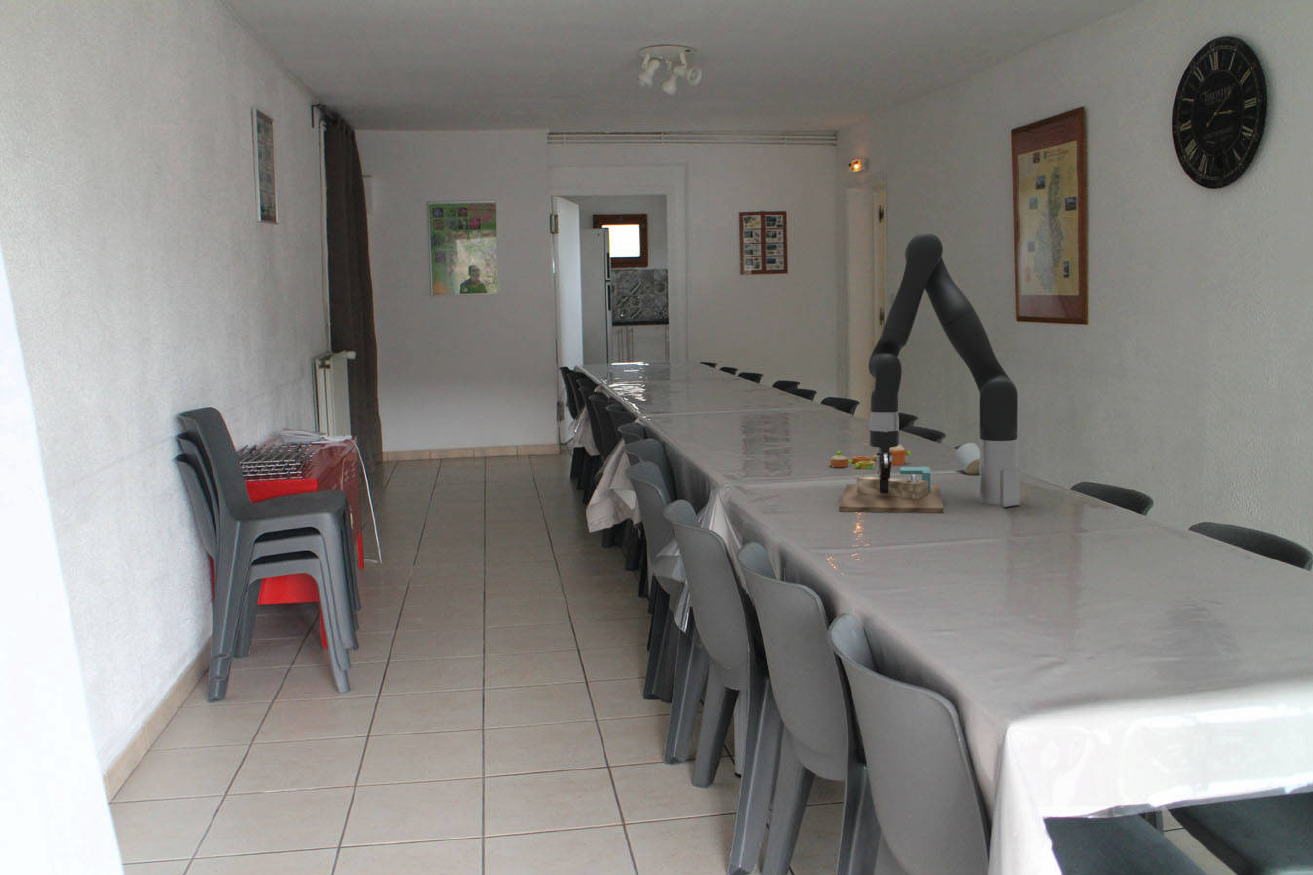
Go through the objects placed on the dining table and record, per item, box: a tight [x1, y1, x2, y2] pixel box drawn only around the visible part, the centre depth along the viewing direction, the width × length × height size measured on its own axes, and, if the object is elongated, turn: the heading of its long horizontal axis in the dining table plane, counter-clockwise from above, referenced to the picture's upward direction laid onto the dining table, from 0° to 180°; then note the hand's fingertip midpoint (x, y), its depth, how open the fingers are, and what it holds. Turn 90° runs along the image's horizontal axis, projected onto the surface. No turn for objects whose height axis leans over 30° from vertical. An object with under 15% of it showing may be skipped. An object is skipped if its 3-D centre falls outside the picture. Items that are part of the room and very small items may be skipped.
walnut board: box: [839, 484, 944, 514], centre depth 277 cm, size 26×36×1 cm
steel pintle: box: [910, 474, 918, 483], centre depth 274 cm, size 2×2×6 cm
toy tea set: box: [829, 444, 912, 470], centre depth 333 cm, size 26×16×10 cm, turn 120°
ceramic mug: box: [954, 442, 980, 475], centre depth 315 cm, size 11×8×8 cm
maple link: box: [856, 476, 928, 499], centre depth 279 cm, size 18×6×4 cm, turn 50°
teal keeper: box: [899, 466, 931, 493], centre depth 285 cm, size 8×12×6 cm
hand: (883, 493), depth 275 cm, fingers closed
